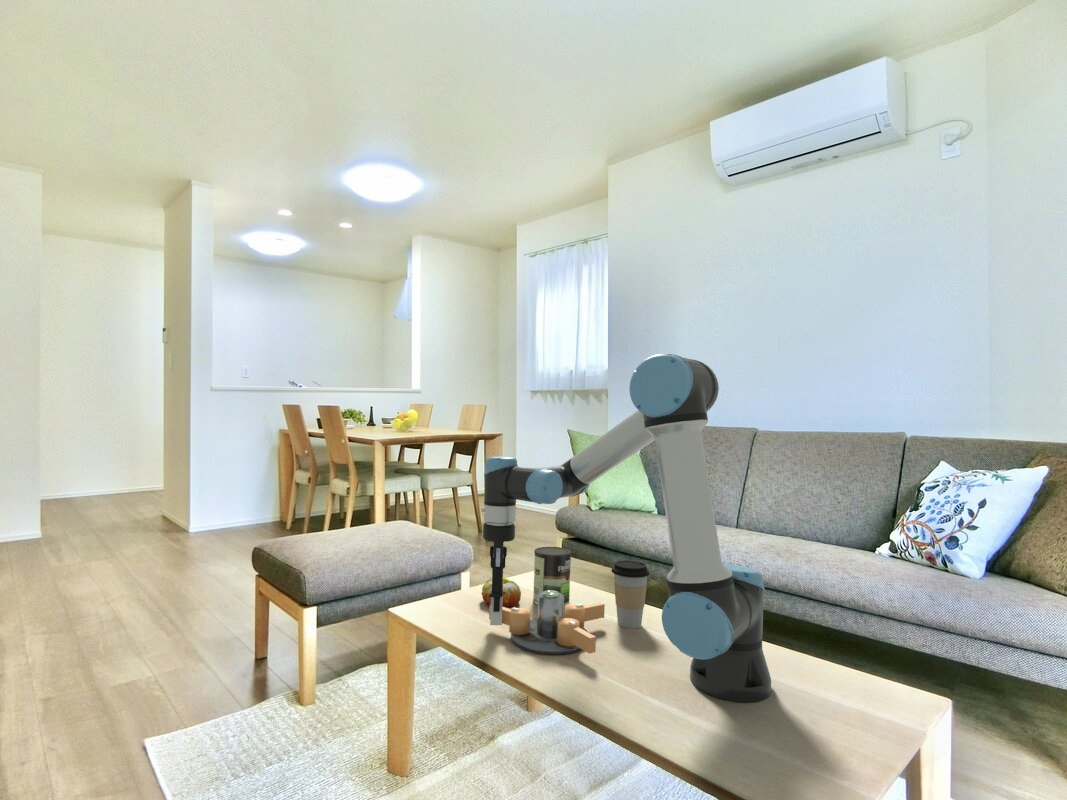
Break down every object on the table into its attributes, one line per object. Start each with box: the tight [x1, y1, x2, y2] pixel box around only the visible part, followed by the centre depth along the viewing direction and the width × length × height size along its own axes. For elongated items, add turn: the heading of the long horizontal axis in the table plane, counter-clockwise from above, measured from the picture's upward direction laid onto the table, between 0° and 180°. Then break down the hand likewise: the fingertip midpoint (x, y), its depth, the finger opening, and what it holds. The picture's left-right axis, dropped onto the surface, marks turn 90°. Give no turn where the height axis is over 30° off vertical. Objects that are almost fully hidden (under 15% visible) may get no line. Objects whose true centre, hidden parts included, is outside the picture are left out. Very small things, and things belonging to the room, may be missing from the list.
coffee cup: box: [611, 559, 650, 629], centre depth 142 cm, size 9×9×15 cm
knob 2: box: [563, 601, 606, 629], centre depth 136 cm, size 11×5×5 cm, turn 123°
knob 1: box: [488, 606, 532, 635], centre depth 132 cm, size 11×5×5 cm, turn 54°
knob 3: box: [557, 617, 597, 654], centre depth 122 cm, size 11×5×5 cm, turn 33°
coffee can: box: [532, 546, 572, 607], centre depth 157 cm, size 10×10×14 cm
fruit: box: [481, 577, 522, 609], centre depth 155 cm, size 11×10×8 cm
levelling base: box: [510, 590, 589, 657], centre depth 131 cm, size 18×18×11 cm
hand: (496, 623), depth 132 cm, fingers closed
